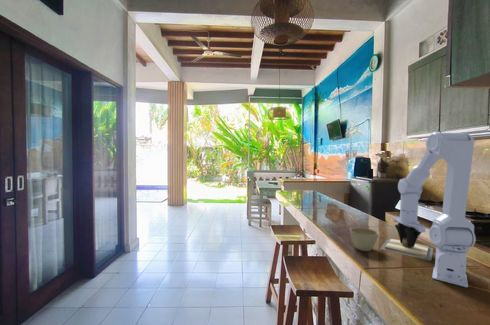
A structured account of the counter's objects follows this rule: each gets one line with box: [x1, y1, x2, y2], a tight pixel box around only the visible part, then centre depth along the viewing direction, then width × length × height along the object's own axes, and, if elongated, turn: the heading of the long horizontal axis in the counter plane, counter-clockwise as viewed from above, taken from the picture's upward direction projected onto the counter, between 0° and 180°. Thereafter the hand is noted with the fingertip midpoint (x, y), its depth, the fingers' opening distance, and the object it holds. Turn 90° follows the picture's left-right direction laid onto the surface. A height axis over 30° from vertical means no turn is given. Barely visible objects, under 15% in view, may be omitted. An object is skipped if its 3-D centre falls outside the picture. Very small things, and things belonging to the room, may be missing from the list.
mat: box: [379, 238, 434, 261], centre depth 99 cm, size 16×16×1 cm
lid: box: [385, 237, 430, 258], centre depth 99 cm, size 13×13×4 cm
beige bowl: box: [349, 227, 379, 252], centre depth 98 cm, size 10×10×7 cm
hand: (407, 244), depth 99 cm, fingers closed on lid, 3 cm apart
